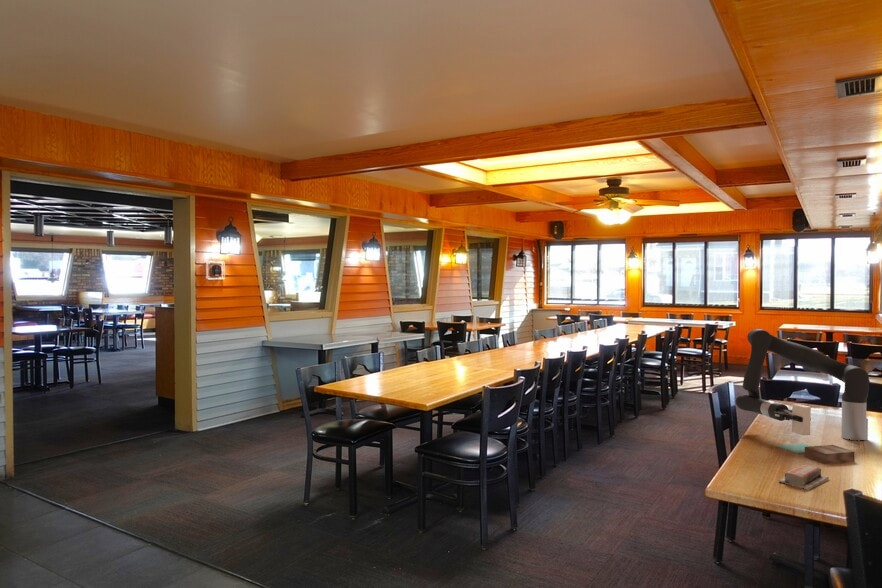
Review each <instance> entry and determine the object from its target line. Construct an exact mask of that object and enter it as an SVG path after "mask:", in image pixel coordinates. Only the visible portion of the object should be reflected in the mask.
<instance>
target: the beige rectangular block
mask: <svg viewBox="0 0 882 588" xmlns="http://www.w3.org/2000/svg"><path fill="white" fill-rule="evenodd" d="M791 408H792V409H791V410H792V414H794V415H797V416H800V417H802V418H803V422H798V421H795V420H794V421H792V420H791V432H792V433H795V434H797V435H800V436H811V421H812V417H811V415H812V413H811V410H812V406H807V405H804V404H801V403H794V404H793V403H792V406H791ZM810 420H811V421H810Z"/></svg>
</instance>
